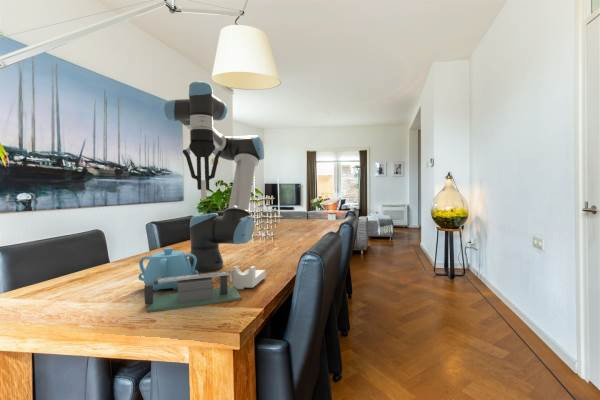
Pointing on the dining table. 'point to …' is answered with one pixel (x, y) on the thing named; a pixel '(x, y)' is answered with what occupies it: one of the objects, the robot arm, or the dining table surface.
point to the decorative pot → (166, 267)
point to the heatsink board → (174, 300)
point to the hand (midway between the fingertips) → (203, 199)
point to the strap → (193, 277)
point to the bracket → (247, 277)
